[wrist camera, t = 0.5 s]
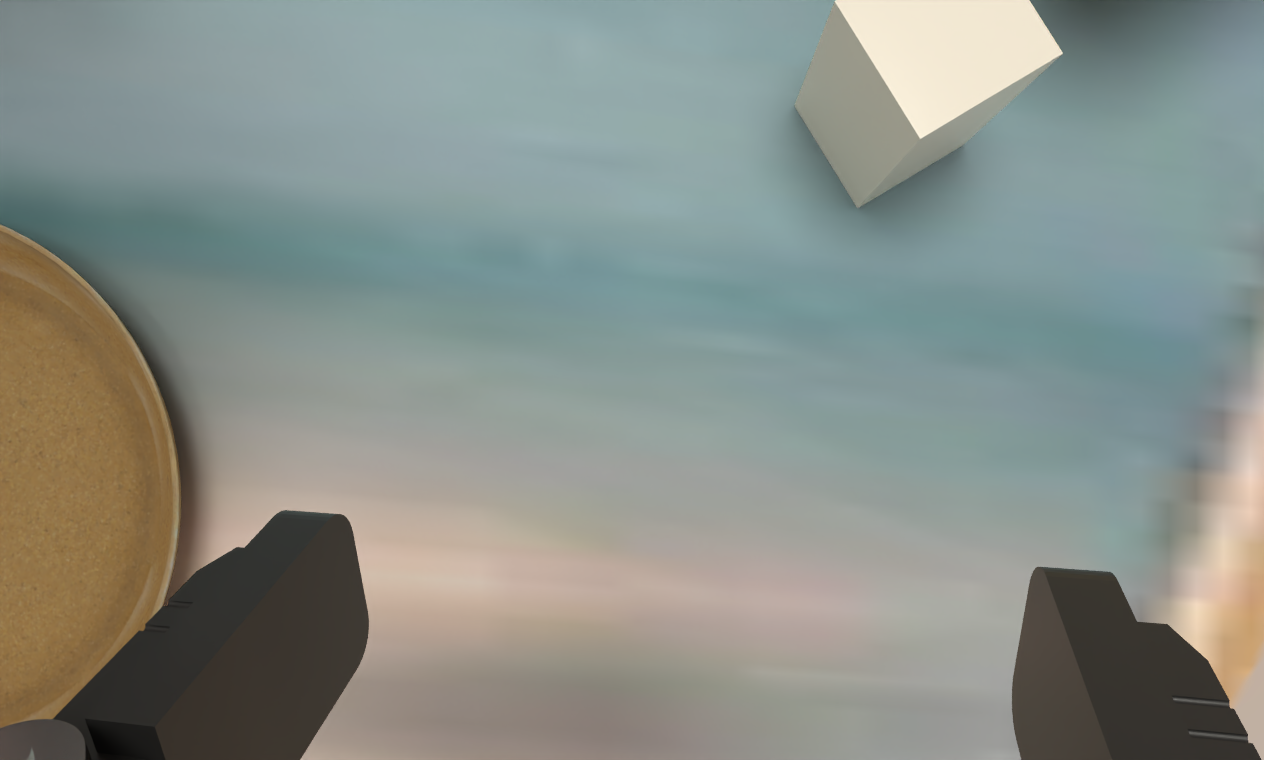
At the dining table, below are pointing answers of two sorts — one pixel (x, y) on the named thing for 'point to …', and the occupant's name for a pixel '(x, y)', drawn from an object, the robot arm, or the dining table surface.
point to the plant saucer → (75, 484)
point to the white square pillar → (915, 82)
